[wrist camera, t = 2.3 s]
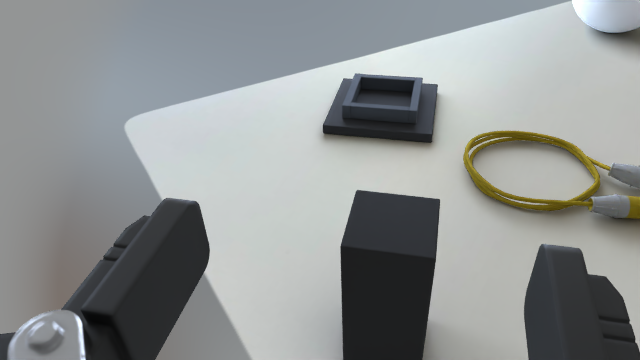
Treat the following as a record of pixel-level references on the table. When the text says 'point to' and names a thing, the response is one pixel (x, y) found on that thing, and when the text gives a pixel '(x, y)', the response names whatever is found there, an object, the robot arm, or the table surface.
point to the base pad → (383, 108)
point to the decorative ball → (609, 14)
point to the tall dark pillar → (387, 275)
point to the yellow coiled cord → (603, 204)
